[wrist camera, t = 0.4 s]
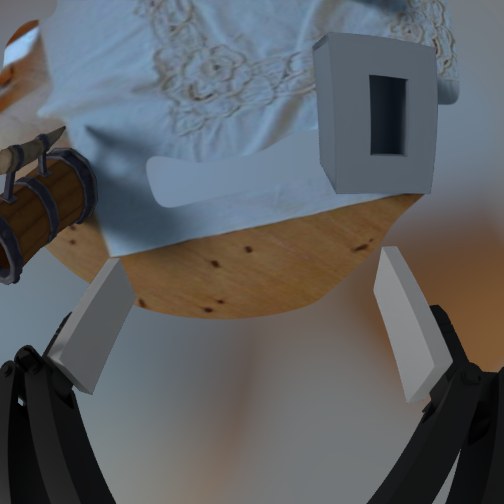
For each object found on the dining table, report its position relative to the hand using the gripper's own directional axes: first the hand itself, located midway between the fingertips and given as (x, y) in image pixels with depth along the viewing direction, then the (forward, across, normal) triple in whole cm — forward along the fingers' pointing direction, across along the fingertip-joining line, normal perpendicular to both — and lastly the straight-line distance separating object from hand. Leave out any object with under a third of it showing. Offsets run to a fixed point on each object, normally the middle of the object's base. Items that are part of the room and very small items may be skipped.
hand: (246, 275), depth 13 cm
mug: (+27, -33, +1) cm, 42 cm away
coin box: (+26, +13, +5) cm, 30 cm away
